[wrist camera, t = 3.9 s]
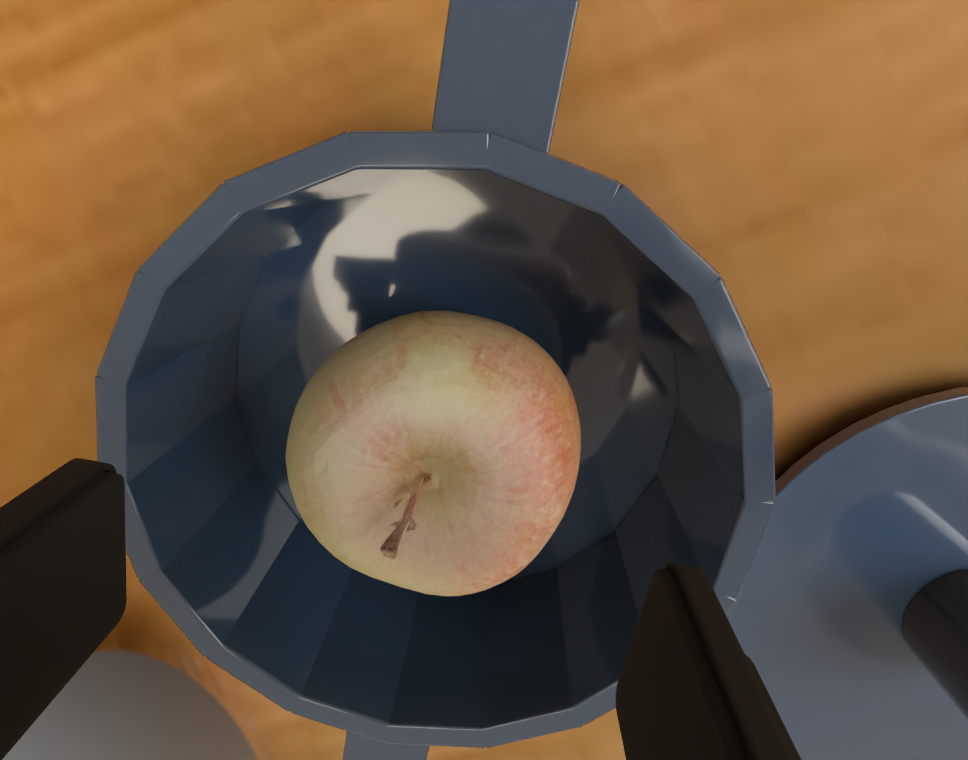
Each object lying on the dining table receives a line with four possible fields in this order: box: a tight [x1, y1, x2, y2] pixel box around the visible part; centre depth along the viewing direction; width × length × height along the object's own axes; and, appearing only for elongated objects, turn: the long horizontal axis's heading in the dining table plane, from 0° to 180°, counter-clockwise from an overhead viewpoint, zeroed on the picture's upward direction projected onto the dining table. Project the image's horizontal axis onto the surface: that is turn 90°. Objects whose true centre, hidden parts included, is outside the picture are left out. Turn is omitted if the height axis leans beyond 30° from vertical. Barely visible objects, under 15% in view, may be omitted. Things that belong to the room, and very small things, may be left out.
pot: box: [95, 0, 776, 760], centre depth 17 cm, size 15×21×6 cm
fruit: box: [285, 311, 581, 596], centre depth 16 cm, size 8×7×8 cm
